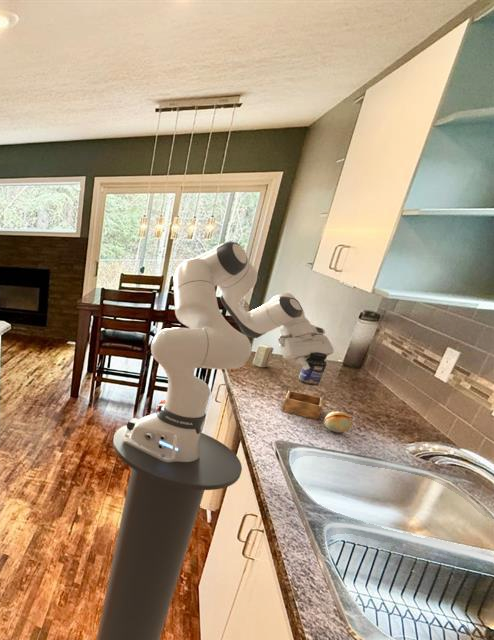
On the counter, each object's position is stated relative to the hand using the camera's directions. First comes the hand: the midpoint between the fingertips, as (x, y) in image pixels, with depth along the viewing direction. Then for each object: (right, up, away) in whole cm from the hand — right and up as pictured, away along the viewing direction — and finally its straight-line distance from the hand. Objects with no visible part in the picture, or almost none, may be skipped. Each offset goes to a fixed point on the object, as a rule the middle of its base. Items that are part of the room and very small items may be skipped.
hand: (316, 368), depth 139 cm
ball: (0, -22, -7) cm, 23 cm away
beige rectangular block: (+18, +3, +54) cm, 57 cm away
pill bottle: (0, -5, +3) cm, 6 cm away
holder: (0, -15, +8) cm, 17 cm away
